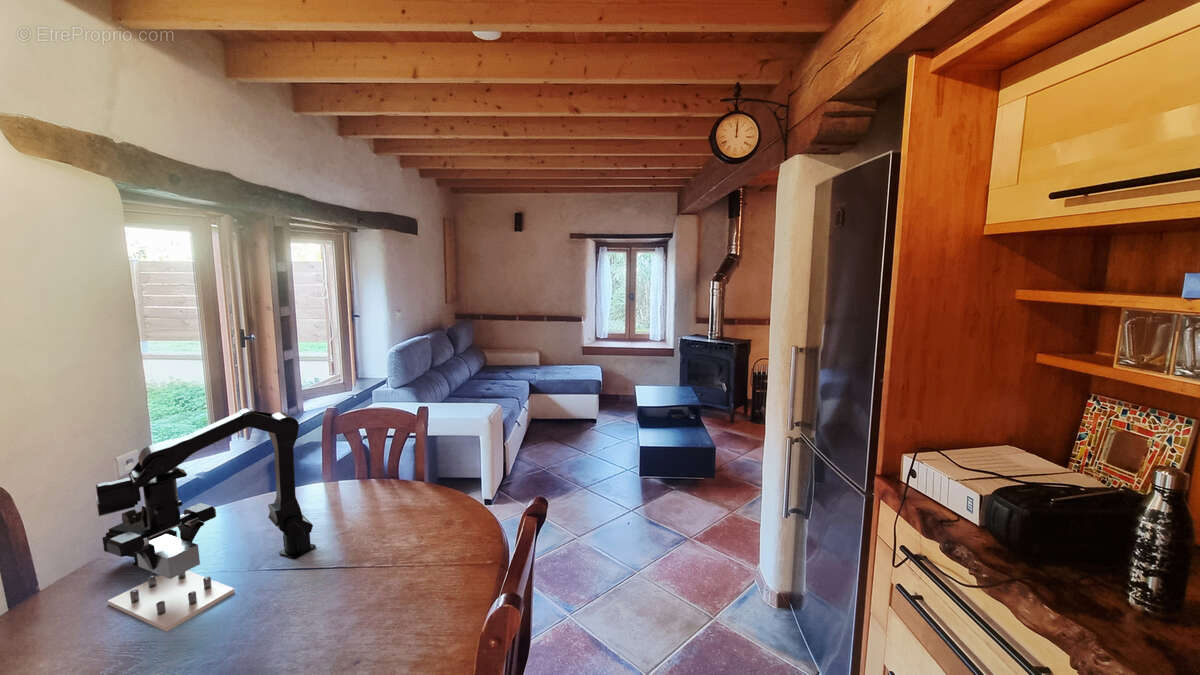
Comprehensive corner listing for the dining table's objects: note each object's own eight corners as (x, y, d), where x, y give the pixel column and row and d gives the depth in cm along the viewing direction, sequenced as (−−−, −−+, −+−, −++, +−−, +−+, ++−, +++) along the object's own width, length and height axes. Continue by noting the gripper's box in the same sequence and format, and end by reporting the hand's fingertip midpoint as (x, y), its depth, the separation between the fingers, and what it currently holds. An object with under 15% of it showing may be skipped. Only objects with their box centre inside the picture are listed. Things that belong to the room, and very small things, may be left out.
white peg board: (234, 592, 118) (233, 579, 117) (166, 631, 105) (164, 617, 104) (178, 570, 126) (176, 557, 125) (108, 604, 113) (106, 590, 112)
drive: (200, 564, 115) (197, 544, 114) (170, 579, 109) (167, 558, 108) (168, 552, 119) (166, 533, 118) (138, 566, 113) (135, 546, 113)
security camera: (161, 578, 122) (156, 541, 121) (104, 567, 126) (99, 531, 124) (189, 561, 129) (185, 527, 128) (134, 552, 133) (130, 518, 131)
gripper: (186, 477, 123) (192, 533, 125) (88, 510, 106) (97, 576, 108) (214, 485, 119) (220, 543, 121) (117, 521, 102) (126, 588, 104)
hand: (169, 561), depth 114 cm, fingers closed on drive, 6 cm apart
